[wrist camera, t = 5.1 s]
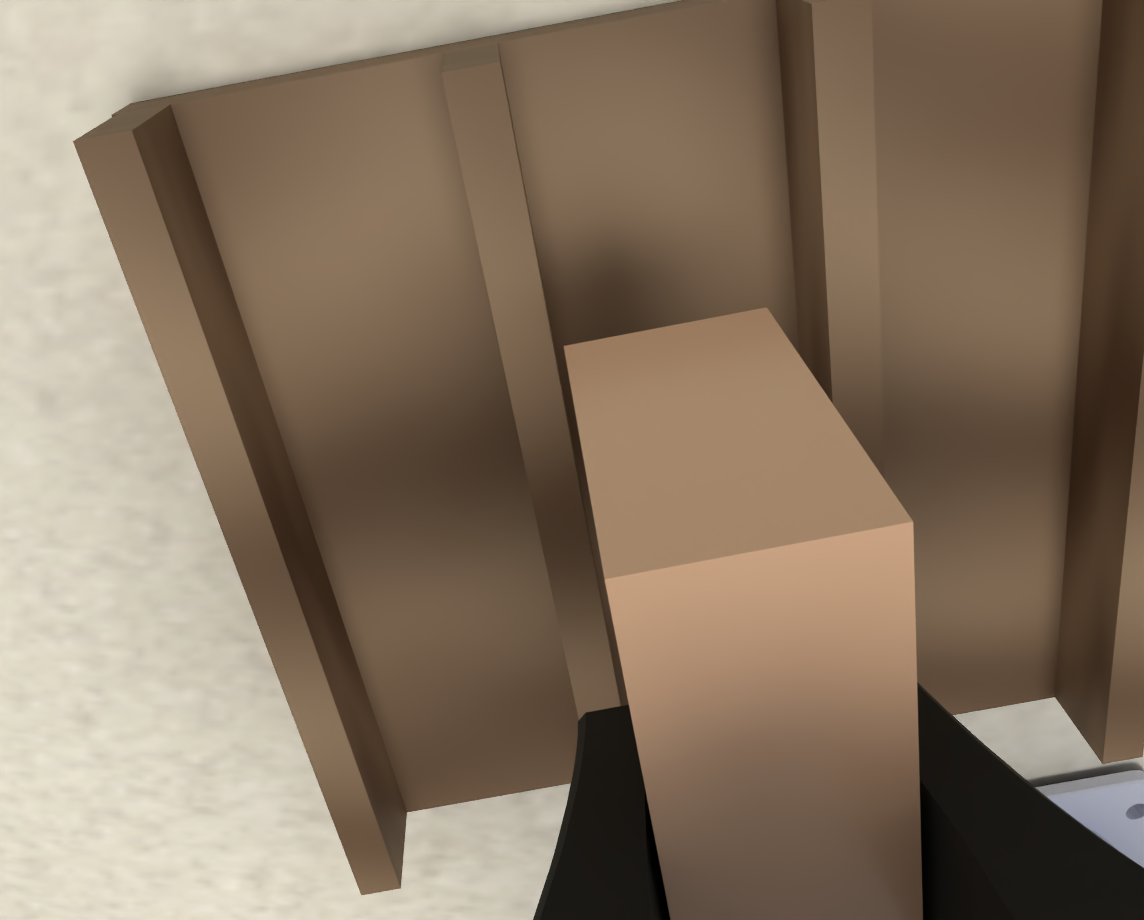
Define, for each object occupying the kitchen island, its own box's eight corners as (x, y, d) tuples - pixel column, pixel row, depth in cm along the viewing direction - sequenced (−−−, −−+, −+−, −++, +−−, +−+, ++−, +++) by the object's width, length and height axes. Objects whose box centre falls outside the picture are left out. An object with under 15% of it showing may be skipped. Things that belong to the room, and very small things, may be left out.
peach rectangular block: (818, 871, 18) (929, 1196, 13) (669, 898, 18) (731, 1231, 13) (766, 307, 13) (913, 521, 8) (563, 345, 13) (604, 578, 9)
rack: (1073, 659, 24) (1147, 756, 21) (370, 785, 24) (356, 896, 21) (1131, -84, 17) (1253, -79, 14) (130, 103, 17) (65, 142, 14)
